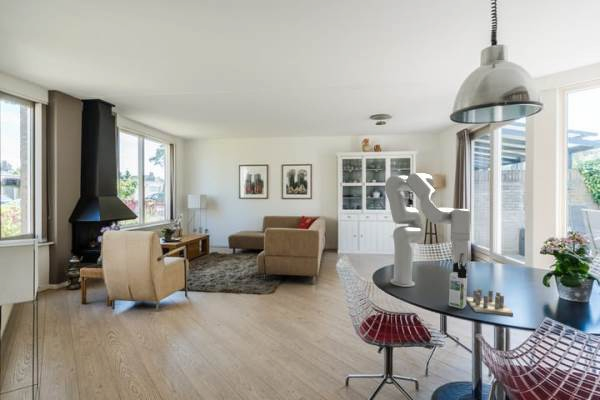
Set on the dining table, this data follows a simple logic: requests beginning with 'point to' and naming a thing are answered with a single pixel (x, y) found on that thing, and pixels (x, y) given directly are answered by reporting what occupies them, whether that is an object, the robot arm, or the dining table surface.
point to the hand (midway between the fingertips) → (459, 275)
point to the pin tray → (488, 303)
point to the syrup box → (457, 291)
